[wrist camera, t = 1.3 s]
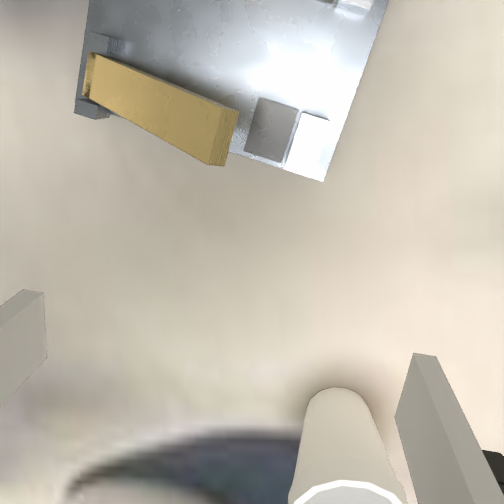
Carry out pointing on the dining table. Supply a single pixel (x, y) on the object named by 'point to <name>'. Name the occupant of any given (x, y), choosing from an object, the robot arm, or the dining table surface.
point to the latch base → (248, 65)
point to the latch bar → (162, 108)
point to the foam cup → (342, 455)
